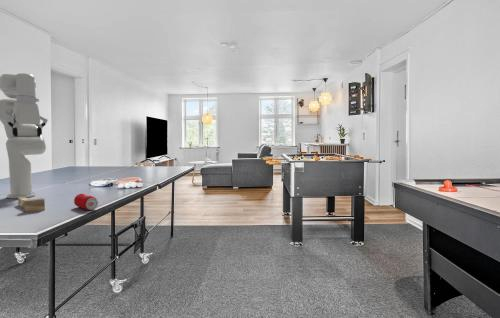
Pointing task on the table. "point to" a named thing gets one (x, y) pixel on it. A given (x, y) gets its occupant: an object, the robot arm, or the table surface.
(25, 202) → the curved plank on base
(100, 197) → the table surface
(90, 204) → the beverage can
